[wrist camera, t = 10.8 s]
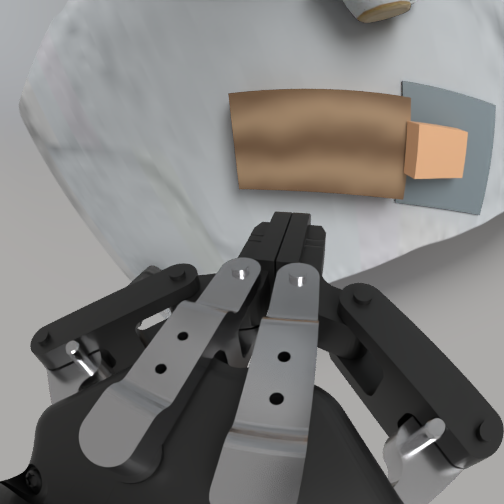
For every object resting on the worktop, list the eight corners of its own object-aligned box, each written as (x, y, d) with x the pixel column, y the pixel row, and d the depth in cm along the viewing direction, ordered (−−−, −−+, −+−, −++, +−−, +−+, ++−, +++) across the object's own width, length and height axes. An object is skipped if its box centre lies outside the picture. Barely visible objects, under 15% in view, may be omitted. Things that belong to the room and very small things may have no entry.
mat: (402, 80, 23) (402, 80, 23) (494, 105, 19) (495, 105, 19) (395, 201, 32) (395, 202, 32) (478, 213, 28) (479, 214, 28)
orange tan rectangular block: (407, 120, 23) (419, 124, 21) (456, 128, 23) (468, 132, 22) (403, 173, 26) (414, 179, 24) (451, 172, 27) (462, 177, 25)
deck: (239, 92, 30) (228, 93, 27) (402, 96, 24) (410, 97, 21) (248, 178, 37) (239, 189, 33) (396, 187, 31) (403, 199, 28)
